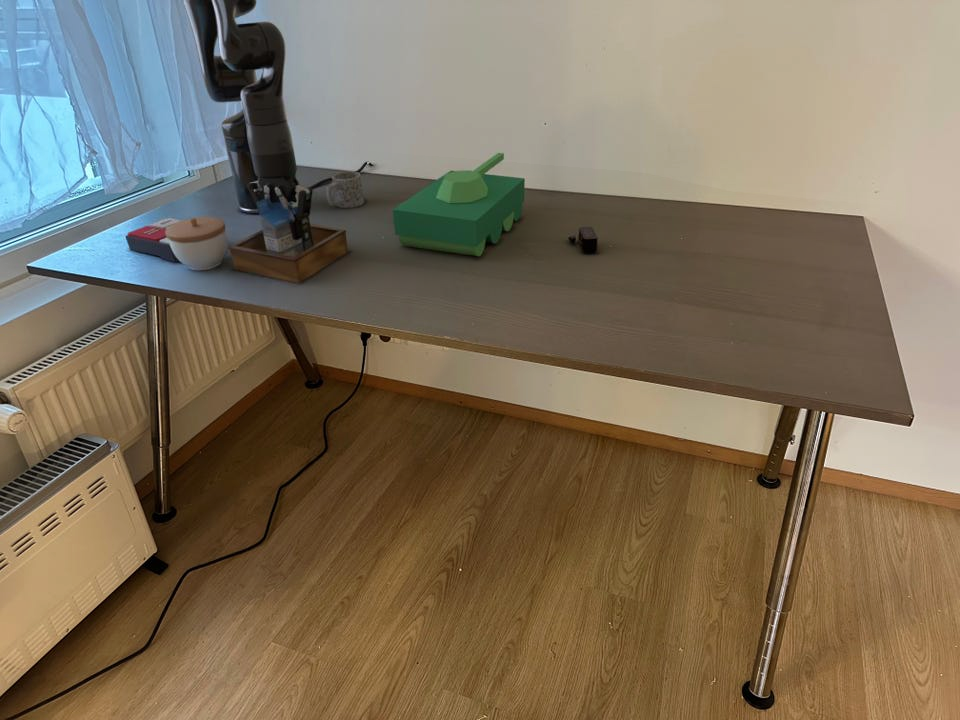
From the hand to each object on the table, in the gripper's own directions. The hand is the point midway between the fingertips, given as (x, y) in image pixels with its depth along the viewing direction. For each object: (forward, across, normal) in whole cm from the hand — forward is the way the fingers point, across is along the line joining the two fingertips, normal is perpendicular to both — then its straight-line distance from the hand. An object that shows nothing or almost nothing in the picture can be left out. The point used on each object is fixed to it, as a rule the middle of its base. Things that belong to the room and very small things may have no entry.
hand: (288, 236), depth 128 cm
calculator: (+5, +28, +4) cm, 28 cm away
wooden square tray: (+5, 0, 0) cm, 5 cm away
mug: (+5, +9, -31) cm, 33 cm away
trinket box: (+5, +15, +8) cm, 18 cm away
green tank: (+5, -25, -30) cm, 39 cm away
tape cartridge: (+5, 0, 0) cm, 5 cm away
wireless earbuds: (+5, -51, -28) cm, 58 cm away
